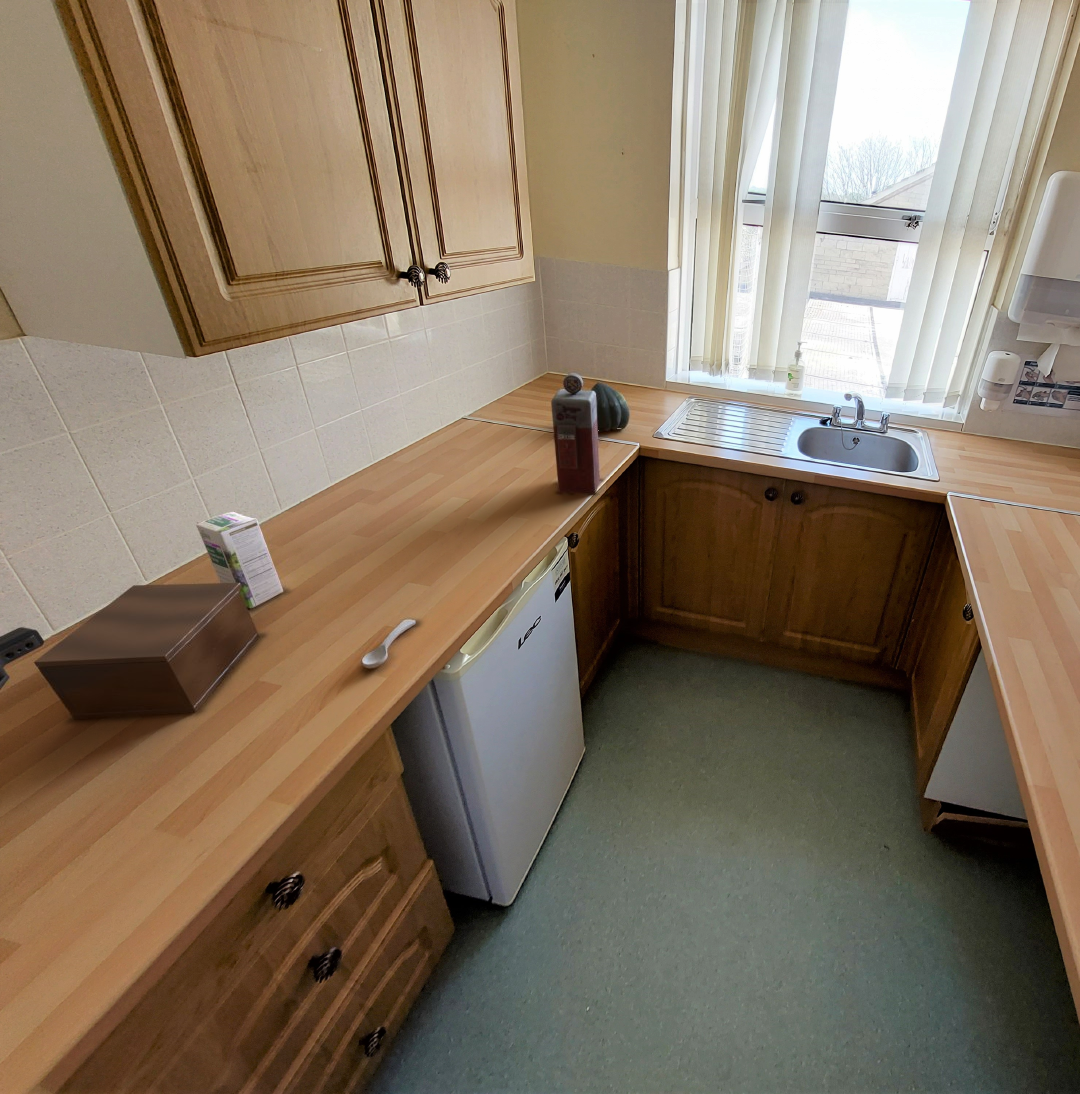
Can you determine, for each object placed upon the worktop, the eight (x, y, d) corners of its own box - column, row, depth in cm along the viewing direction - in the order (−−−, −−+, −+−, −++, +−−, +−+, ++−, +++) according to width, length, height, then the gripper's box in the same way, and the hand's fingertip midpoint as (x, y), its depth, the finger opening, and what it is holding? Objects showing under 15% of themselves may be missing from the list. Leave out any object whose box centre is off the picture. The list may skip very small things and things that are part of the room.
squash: (631, 421, 173) (627, 376, 176) (580, 423, 170) (577, 377, 173) (630, 439, 187) (626, 396, 190) (584, 441, 184) (580, 398, 187)
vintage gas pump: (556, 496, 138) (546, 380, 124) (564, 478, 148) (556, 368, 133) (594, 498, 139) (588, 382, 125) (599, 479, 148) (595, 370, 134)
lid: (135, 589, 82) (133, 585, 82) (242, 586, 85) (240, 582, 84) (36, 667, 68) (33, 662, 68) (167, 661, 71) (164, 656, 70)
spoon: (358, 671, 83) (355, 660, 82) (403, 625, 94) (401, 615, 93) (378, 673, 83) (375, 662, 82) (421, 627, 94) (419, 617, 93)
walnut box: (158, 640, 86) (131, 592, 82) (259, 636, 88) (239, 590, 84) (73, 719, 73) (36, 667, 68) (195, 712, 75) (167, 661, 71)
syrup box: (226, 600, 95) (191, 524, 88) (262, 583, 100) (232, 509, 93) (250, 609, 94) (217, 532, 86) (286, 591, 98) (257, 517, 91)
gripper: (-204, 751, 43) (69, 616, 58) (-336, 718, 44) (-38, 595, 59) (-135, 814, 46) (104, 672, 61) (-259, 781, 48) (3, 650, 63)
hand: (34, 634), depth 60 cm, fingers closed
